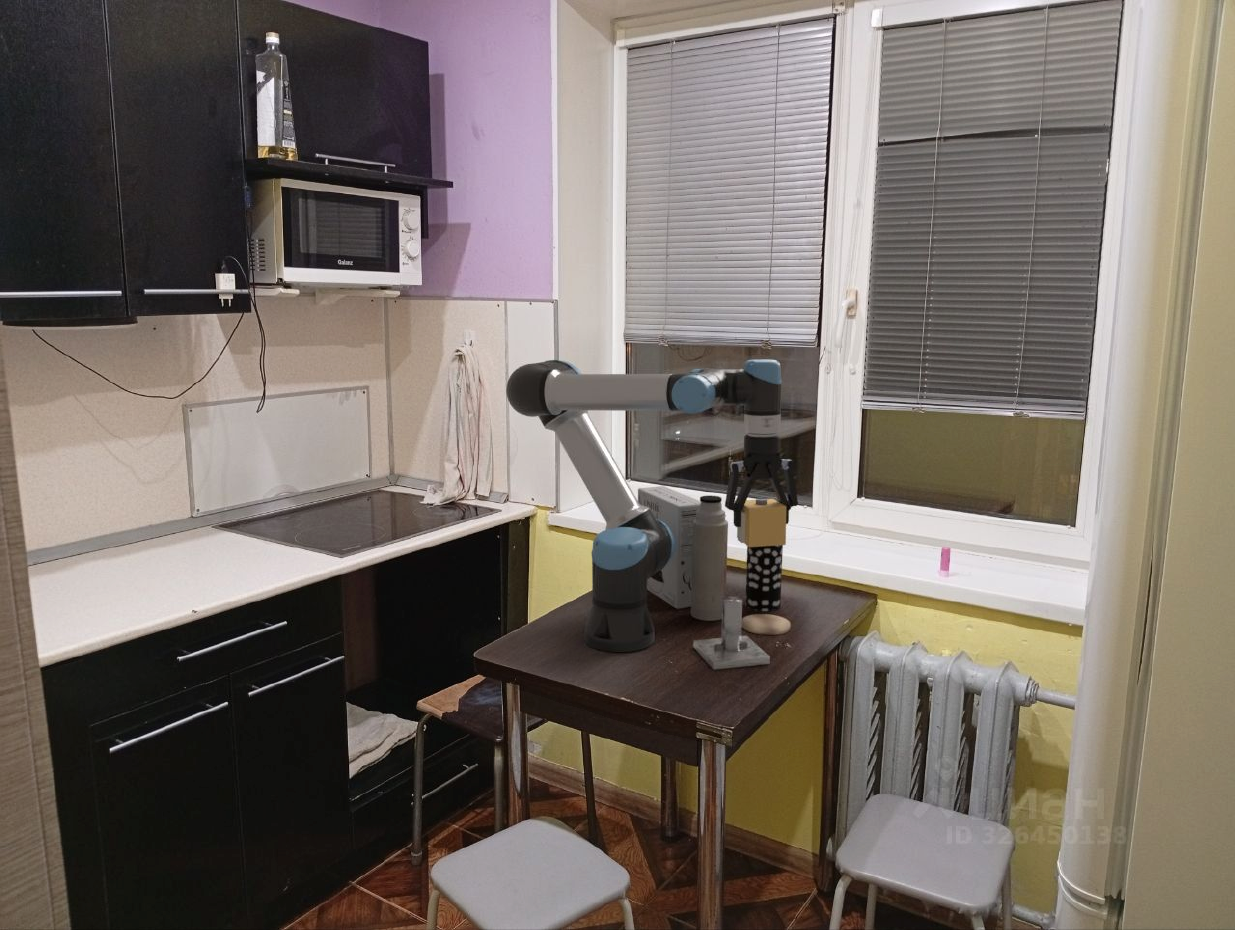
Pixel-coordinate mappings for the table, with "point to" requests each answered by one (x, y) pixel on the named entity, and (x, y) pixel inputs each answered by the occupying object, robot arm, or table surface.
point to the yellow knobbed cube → (764, 523)
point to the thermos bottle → (709, 559)
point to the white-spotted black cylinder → (764, 577)
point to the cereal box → (679, 518)
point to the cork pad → (765, 624)
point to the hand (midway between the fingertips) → (761, 539)
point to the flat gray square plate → (731, 641)
